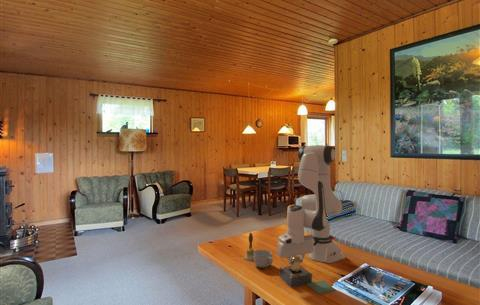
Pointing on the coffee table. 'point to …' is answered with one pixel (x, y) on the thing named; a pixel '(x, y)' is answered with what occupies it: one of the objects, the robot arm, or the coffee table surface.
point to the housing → (295, 276)
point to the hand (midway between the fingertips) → (295, 263)
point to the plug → (295, 264)
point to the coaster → (321, 287)
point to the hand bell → (250, 250)
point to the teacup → (263, 258)
